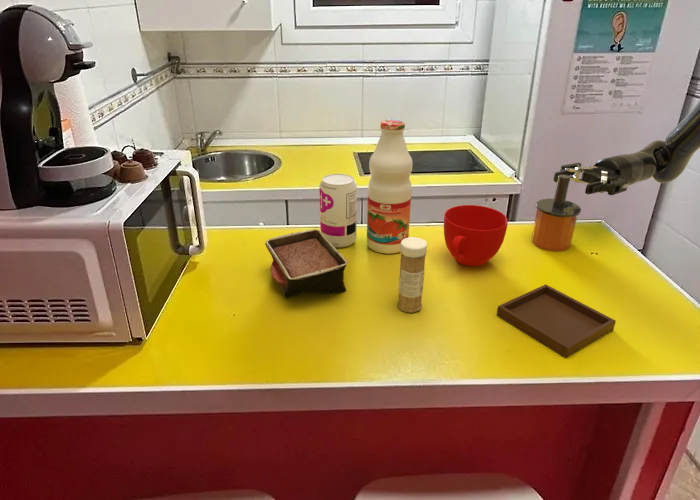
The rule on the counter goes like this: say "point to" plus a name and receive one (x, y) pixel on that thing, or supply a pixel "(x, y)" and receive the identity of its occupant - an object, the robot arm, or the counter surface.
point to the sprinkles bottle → (411, 274)
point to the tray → (556, 319)
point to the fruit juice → (389, 190)
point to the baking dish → (306, 263)
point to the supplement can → (338, 209)
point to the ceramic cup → (474, 233)
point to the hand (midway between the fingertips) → (570, 183)
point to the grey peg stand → (559, 201)
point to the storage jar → (553, 232)
